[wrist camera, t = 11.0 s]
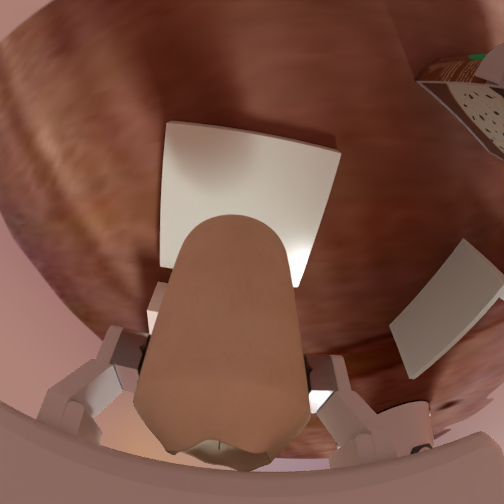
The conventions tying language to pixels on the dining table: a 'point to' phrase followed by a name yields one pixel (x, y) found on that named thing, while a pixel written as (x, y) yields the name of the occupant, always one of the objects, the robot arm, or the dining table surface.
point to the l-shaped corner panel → (446, 308)
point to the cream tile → (243, 185)
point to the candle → (226, 349)
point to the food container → (472, 93)
